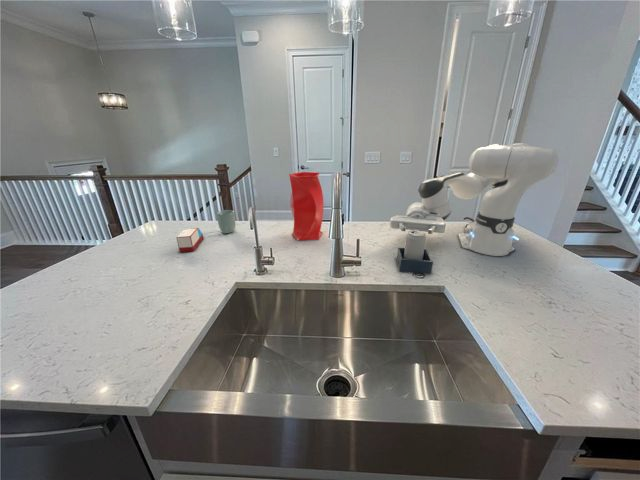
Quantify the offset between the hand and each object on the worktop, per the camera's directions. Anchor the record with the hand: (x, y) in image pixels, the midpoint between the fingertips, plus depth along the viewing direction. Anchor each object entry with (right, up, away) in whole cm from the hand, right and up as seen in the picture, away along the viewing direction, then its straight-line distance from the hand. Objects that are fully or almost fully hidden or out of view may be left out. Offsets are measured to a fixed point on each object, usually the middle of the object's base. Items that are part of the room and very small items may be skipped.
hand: (416, 230), depth 96 cm
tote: (-3, -13, -3) cm, 13 cm away
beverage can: (-3, -12, -3) cm, 13 cm away
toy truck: (-91, -6, +17) cm, 93 cm away
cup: (-81, 0, +31) cm, 87 cm away
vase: (-41, -2, +25) cm, 48 cm away
